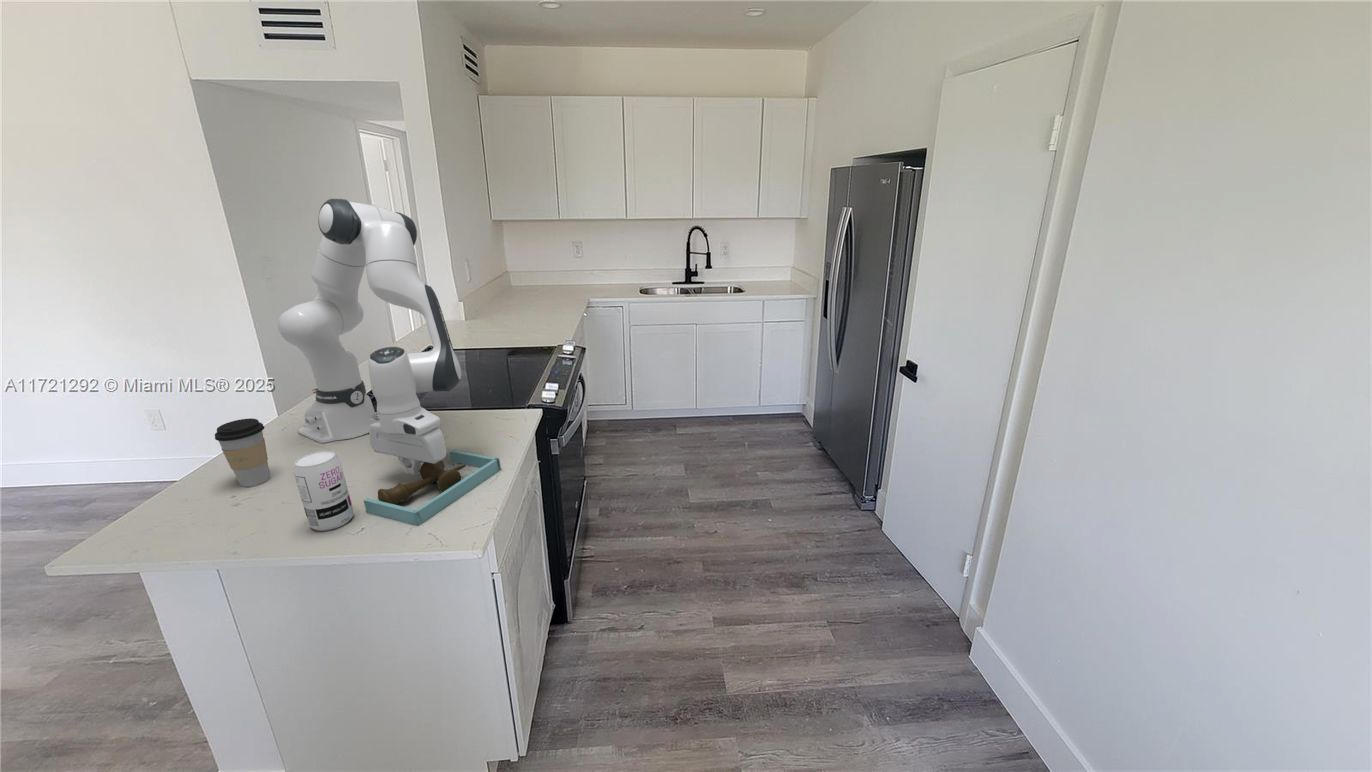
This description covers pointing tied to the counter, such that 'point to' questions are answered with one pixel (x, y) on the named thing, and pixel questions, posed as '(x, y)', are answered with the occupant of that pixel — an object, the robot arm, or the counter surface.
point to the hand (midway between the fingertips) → (413, 472)
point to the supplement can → (323, 490)
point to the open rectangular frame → (444, 499)
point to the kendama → (422, 482)
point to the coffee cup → (245, 450)
